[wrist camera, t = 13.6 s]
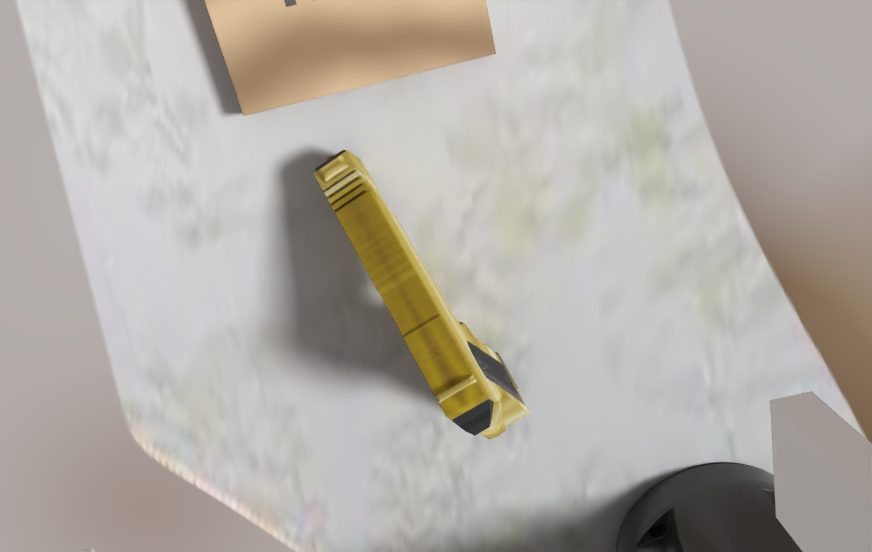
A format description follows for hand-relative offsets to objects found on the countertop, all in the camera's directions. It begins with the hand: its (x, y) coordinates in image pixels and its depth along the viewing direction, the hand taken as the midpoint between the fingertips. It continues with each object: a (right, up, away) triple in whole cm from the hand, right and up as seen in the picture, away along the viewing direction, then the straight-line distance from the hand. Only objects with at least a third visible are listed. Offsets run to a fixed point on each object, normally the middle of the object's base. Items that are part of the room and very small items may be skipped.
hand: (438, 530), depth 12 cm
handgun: (-1, +4, +31) cm, 31 cm away
